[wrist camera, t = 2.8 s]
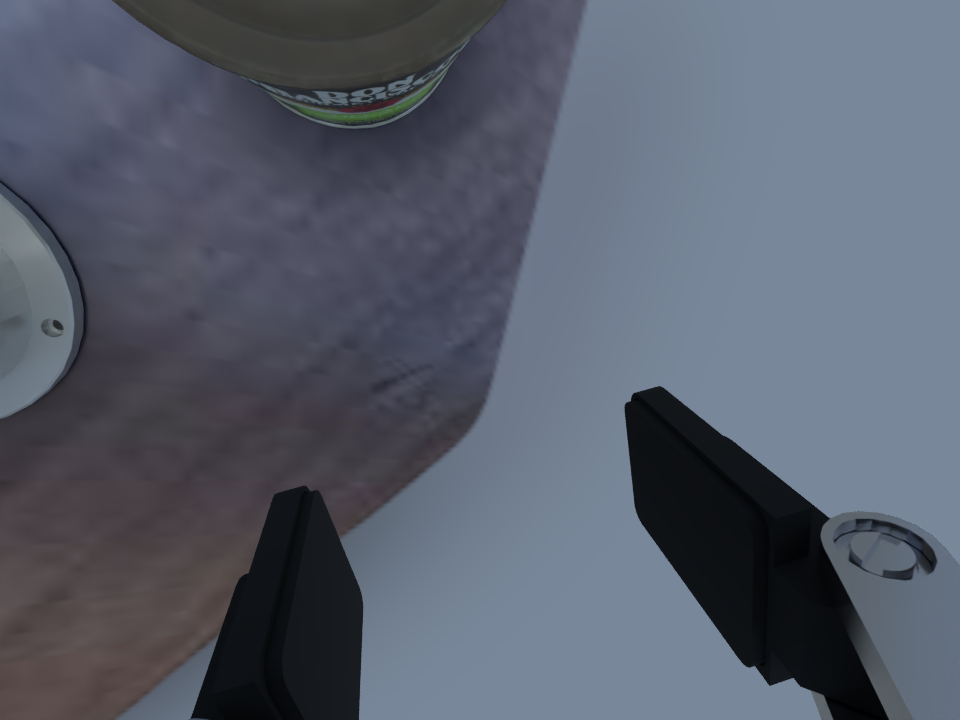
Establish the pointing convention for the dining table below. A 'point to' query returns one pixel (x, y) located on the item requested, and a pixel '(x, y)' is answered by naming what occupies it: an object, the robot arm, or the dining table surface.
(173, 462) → the dining table surface
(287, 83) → the coffee can
